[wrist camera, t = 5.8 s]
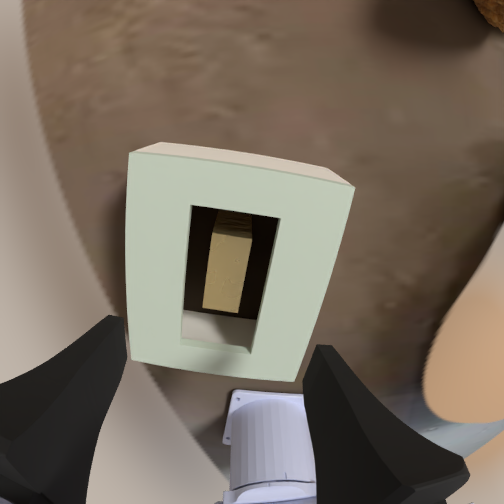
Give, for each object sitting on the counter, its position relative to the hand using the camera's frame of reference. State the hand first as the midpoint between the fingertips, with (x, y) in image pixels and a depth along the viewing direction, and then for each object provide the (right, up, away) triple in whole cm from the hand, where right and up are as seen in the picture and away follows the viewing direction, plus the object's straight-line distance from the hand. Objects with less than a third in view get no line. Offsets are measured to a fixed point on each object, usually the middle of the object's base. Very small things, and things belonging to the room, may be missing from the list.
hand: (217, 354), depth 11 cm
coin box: (0, +4, +9) cm, 10 cm away
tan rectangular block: (0, +4, +9) cm, 10 cm away
